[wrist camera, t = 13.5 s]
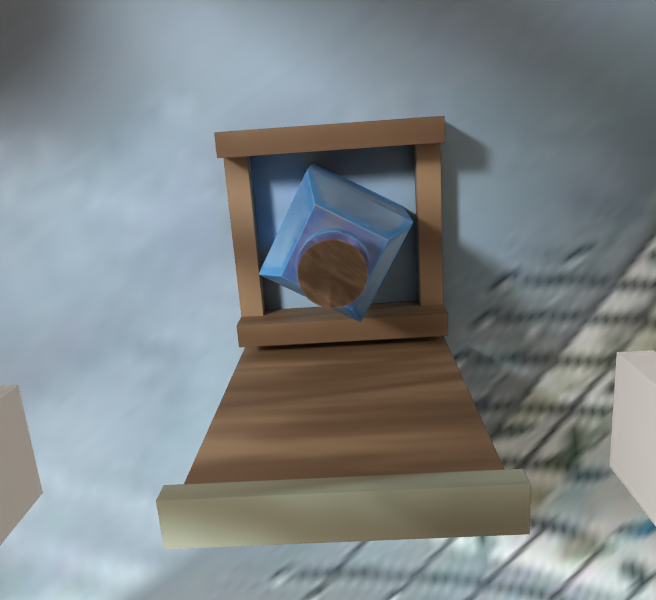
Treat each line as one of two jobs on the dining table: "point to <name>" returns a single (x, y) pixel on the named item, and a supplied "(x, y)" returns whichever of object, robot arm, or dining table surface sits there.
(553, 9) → the dining table surface
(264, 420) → the wooden l-shaped stand
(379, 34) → the dining table surface
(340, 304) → the perfume bottle
